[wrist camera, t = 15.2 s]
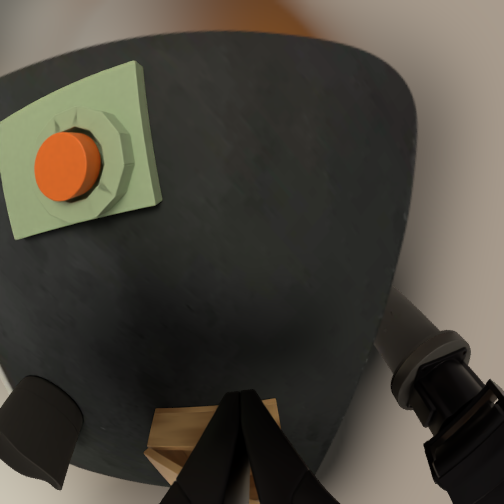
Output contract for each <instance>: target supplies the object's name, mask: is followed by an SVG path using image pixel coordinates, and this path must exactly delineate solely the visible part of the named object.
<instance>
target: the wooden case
mask: <svg viewBox="0 0 504 504" xmlns="http://www.w3.org/2000/svg"><path fill="white" fill-rule="evenodd" d="M262 402H263V403H264V405H265V406H266V408H267V409H268V411H269V412H270V414H271V415H272V417H273V418H274V420H275V421H276V423H277V424H278V426H279V427H280V429H281V426H280V421H279V415H278V409H277V404H276V399H275V398H273V399H267V400H262ZM217 407H218V405H215V406H202V407H184V408H156V409H155V413H154V417H153V421H152V426H151V430H150V435H149V439H148V444H147V446H148V448H151V449H153V450H154V451H156V452H157V453H159V454H161V455H162V456H164V457H166V458H167V459H169V460H171V461H172V462H174V463H176V464H178V465H179V466H181V467H183V466H184V464H185V463H186V461H187V459H188V458H189V456H190V454H191V453H192V451H193V449H194V447H195V446H196V444H197V442H198V441H199V439H200V437H201V435H202V434H203V432H204V430H205V428H206V427H207V425H208V423H209V421H210V420H211V418H212V416H213V414H214V413H215V411H216V409H217ZM249 499H252V500H254V501H257V502H259V498H258V494H257V491H256V487H255V483H254V479H253V475H252V471H251V467H250V491H249Z"/></svg>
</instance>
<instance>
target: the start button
mask: <svg viewBox="0 0 504 504" xmlns="http://www.w3.org/2000/svg"><path fill="white" fill-rule="evenodd" d="M100 165H101V160H100V153H99V150H98V147H97V145H96V144H95V142H94V141H93V140H92V139H91V138H90V137H89V136H87V135H85V134H82V133H73V132H59V133H55V134H53V135H51V136H50V137H49V138H47V139H46V140H45V141H44V142H43V144H42V145H41V147H40V148H39V150H38V153H37V155H36V159H35V165H34V173H35V179H36V183H37V185H38V187H39V189H40V191H41V192H42V193H43V194H44V195H45V196H46V197H47V198H49V199H51V200H53V201H66V200H69V199H71V198H74V197H77V196H80V195H82V194H84V193H86V192H87V191H89V190H90V189H91V188H92V186H93V185H94V183H95V182H96V180H97V178H98V175H99V171H100Z"/></svg>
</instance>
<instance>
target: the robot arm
mask: <svg viewBox="0 0 504 504" xmlns="http://www.w3.org/2000/svg"><path fill="white" fill-rule="evenodd" d="M467 352H468V349H467V348H466V347H463V348H460V349H458V350H456V351H454V352H451V353H449V354H447V355H444V356H442V357H439V358H437V359H434V360H432V361H429V362H427V363H424V364H422V365H420V366H419V368H418V370H417V374H416V377H415V380H414V384H413V387H412V390H411V393H410V396H409V399H408V402H407V408H408V409H412V408H413V410H414V412H415V413H416V415H417V416H418V418H419V420H420V422H421V423H422V425H423V427H425V428H426V427H429V429H430V431H431V432H432V434H433V436H434V437H432V438H431V439H430V440H429V441H426V442H425V443H424V449H425V454H426V457H427V460H428V464H429V467H430V470H431V474H432V477H433V480H434V482H435V484H438V485H439V486H440V487H441V488H442V489H443V490H446V491H447V492H448V494H449V496H450V498H451V500H452V502H453V504H504V391H503V390H502V389H501V388H500V387H499V386H498V385H497V384H496V383H494V382H493V381H492V380H491V379H489V380H488V382H487V383H486V385H485V384H483V382H482V381H481V380H480V379H479V378H478V376H477V375H476V374H475V373H474V372H473V371H472V370H471V369H470V367H469V366H468V365H467V364H466V363H465V362H464V360H465V357H466V355H467ZM497 398H498V401H497V402H496V403H495V404H494V402H495V400H496V399H497ZM250 467H251V471H252V475H253V479H254V483H255V487H256V491H257V494H258V498H259V502H260V504H340V503H339V502H338V501H337V500H336V499H335V498H334V497H333V496H332V495H331V494H330V493H329V492H328V491H327V490H326V489H325V488H324V486H323V485H322V484H321V483H320V482H319V480H317V478H316V477H315V475H314V474H313V473H312V471H311V470H309V468H308V466H307V465H306V464H305V462H304V461H303V460H302V458H301V457H300V455H299V454H298V453H297V451H296V450H295V448H294V447H293V446H292V444H291V443H290V441H289V440H288V439H287V437H286V436H285V434H284V433H283V431H282V430H281V429H280V427H279V426H278V424H277V423H276V421H275V420H274V418H273V417H272V415H271V414H270V412H269V411H268V409H267V408H266V406H265V405H264V403H263V402H262V400H261V399H260V397H259V396H258V394H257V393H256V391H255V390H254V389H250V390H243V391H241V392H239V391H234V392H227V393H225V395H224V396H223V398H222V400H221V402H220V404H219V405H218V407H217V409H216V411H215V413H214V414H213V416H212V418H211V420H210V421H209V423H208V425H207V427H206V428H205V430H204V432H203V434H202V435H201V437H200V439H199V441H198V442H197V444H196V446H195V447H194V449H193V451H192V453H191V454H190V456H189V458H188V459H187V461H186V463H185V464H184V466H183V468H182V469H181V471H180V473H179V474H178V476H177V477H176V481H174V482H173V484H172V485H171V487H170V489H169V490H168V492H167V493H166V495H165V496H164V498H163V499H162V501H161V502H160V503H159V504H249V491H250Z"/></svg>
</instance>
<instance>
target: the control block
mask: <svg viewBox="0 0 504 504" xmlns="http://www.w3.org/2000/svg"><path fill="white" fill-rule="evenodd" d="M59 132H73V133H82V134H85V135H87V136H89V137H90V138H91V139H92V140H93V141H94V142H95V144H96V145H97V147H98V150H99V153H100V160H101V165H100V171H99V175H98V178H97V180H96V182H95V183H94V185H93V186H92V188H91V189H90V190H89V191H87V192H86V193H84V194H82V195H80V196H77V197H74V198H71V199H69V200H66V201H53V200H51V199H49V198H47V197H46V196H45V195H44V194H43V193H42V192H41V191H40V189H39V187H38V185H37V183H36V179H35V173H34V165H35V159H36V155H37V153H38V150H39V148H40V147H41V145H42V144H43V142H44V141H45V140H46V139H47V138H49V137H50V136H51V135H53V134H55V133H59ZM0 172H1V178H2V185H3V190H4V196H5V201H6V205H7V210H8V215H9V219H10V223H11V227H12V231H13V235H14V238H15V240H18V239H21V238H25V237H28V236H32V235H35V234H39V233H42V232H46V231H49V230H53V229H57V228H60V227H64V226H68V225H72V224H76V223H80V222H84V221H88V220H92V219H96V218H100V217H105V216H109V215H113V214H118V213H122V212H127V211H131V210H136V209H141V208H145V207H150V206H155V205H157V204H158V203H160V202H161V201H162V195H161V190H160V185H159V179H158V174H157V168H156V162H155V156H154V150H153V144H152V137H151V130H150V123H149V116H148V108H147V100H146V92H145V83H144V73H143V67H142V66H141V65H140V64H138V63H137V62H136V61H131V62H128V63H125V64H122V65H119V66H116V67H113V68H110V69H107V70H104V71H102V72H99V73H96V74H94V75H91V76H89V77H86V78H84V79H81V80H79V81H77V82H74V83H72V84H70V85H68V86H65V87H63V88H61V89H59V90H57V91H55V92H53V93H51V94H49V95H47V96H45V97H43V98H41V99H39V100H37V101H35V102H33V103H31V104H30V105H28V106H26V107H24V108H23V109H21V110H19V111H17V112H16V113H14V114H12V115H11V116H9V117H7V118H6V119H4V120H3V121H1V122H0Z"/></svg>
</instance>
